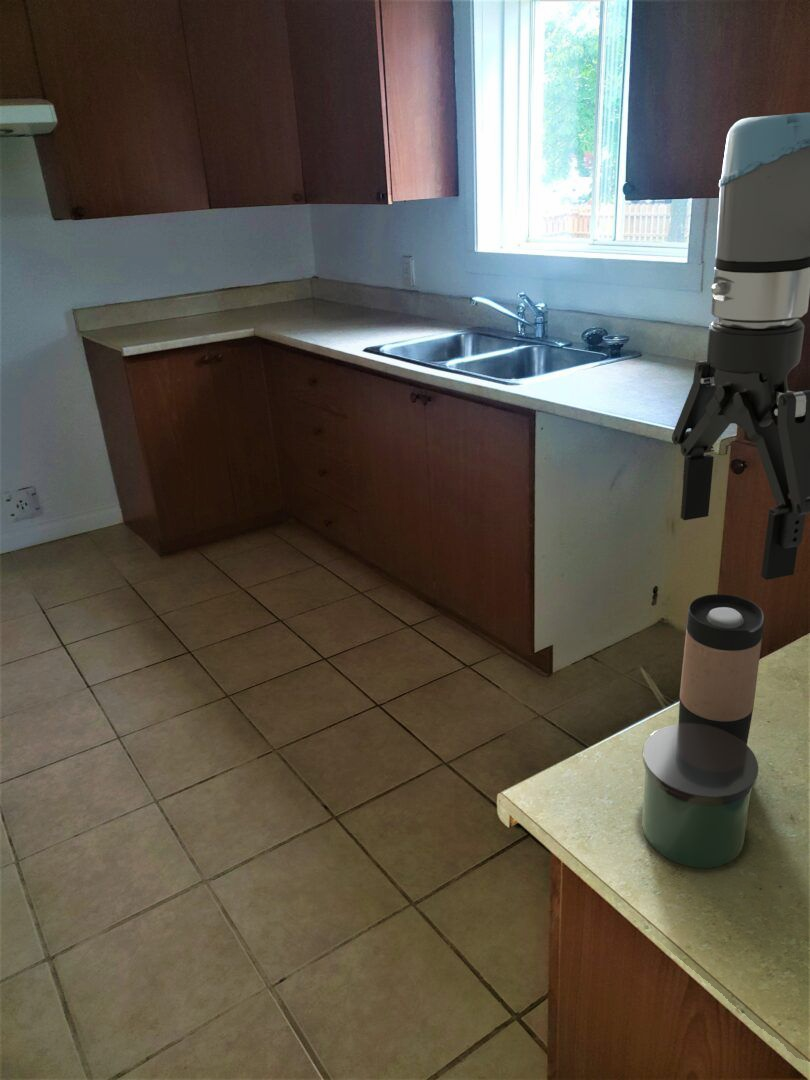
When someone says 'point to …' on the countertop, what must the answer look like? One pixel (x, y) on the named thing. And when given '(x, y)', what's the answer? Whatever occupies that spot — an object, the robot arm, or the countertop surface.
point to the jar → (697, 793)
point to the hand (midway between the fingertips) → (732, 544)
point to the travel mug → (721, 663)
